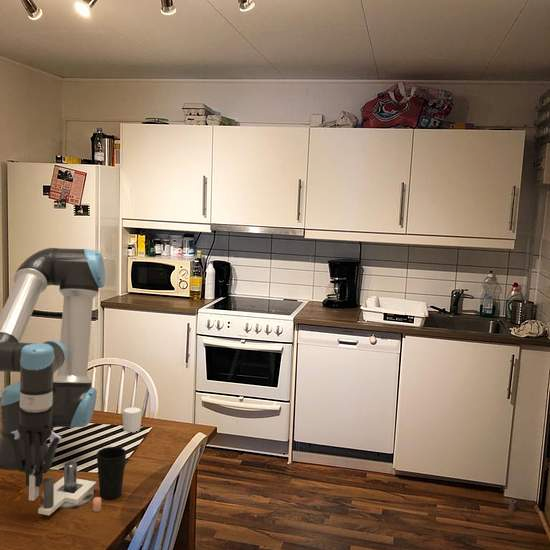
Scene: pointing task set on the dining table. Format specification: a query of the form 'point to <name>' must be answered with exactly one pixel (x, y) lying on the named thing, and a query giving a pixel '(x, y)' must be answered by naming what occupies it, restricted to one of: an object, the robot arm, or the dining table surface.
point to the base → (73, 485)
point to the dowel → (97, 504)
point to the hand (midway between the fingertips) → (33, 497)
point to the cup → (111, 471)
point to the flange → (62, 494)
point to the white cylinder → (131, 419)
